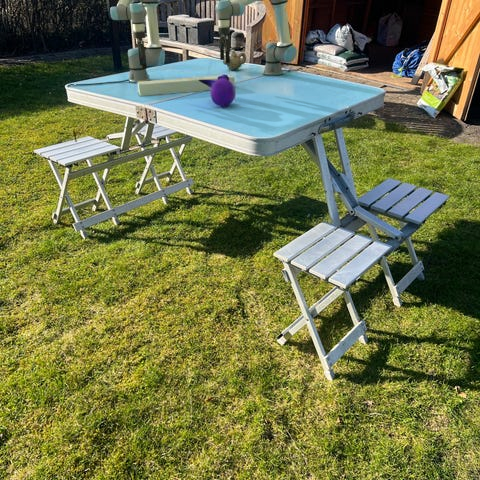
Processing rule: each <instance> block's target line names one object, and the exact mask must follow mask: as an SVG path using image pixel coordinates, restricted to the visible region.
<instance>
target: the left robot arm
mask: <svg viewBox="0 0 480 480" xmlns="http://www.w3.org/2000/svg"><path fill="white" fill-rule="evenodd" d="M160 1H161V0H118V2H117V4H116V6H111V7H110V10H109V13H110V18H111V19H112V20H113V21H131V26H132V27H131V28H132V31H133V32H132V34H133V39H136V44H137V47H134V48H130V49H128V50H127V56H128V66H129V76H128V79H124V80H116V81H115V80H114V81H104V82H94V83H69V84H70V85H69V84H68V85H67V88H69V87H70V86H73V87H74V86H75V87H77V86H95V85H97V86H98V85H106V84H117V83H125V82H129V83H133V84H137V82H140V81H151V80H150V74H148V71H147V69H148V67H162V66H163V65H165V61H166V60H165V59H166V51H165V50H166V49H165V48H163V45H162V44H161V42H160V33H159V22H158V21H159V19H158V11H157V7H158V6H159V2H160ZM145 30H146V31H145ZM143 39H146V40H147V44H146V46H145V41H144V40H143ZM74 84H76V85H74ZM72 131H73V137H74V142H75V143H77V135H76V132H75V129H73V130H72Z"/></svg>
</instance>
